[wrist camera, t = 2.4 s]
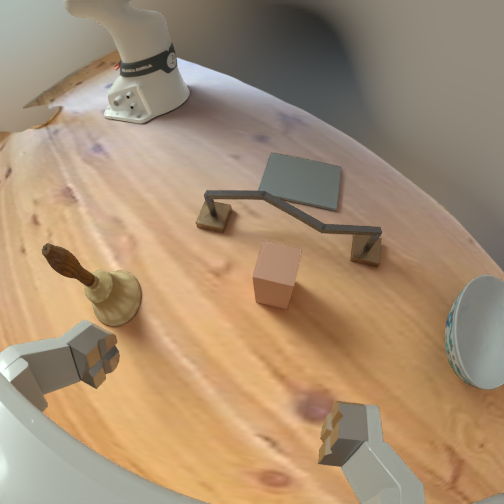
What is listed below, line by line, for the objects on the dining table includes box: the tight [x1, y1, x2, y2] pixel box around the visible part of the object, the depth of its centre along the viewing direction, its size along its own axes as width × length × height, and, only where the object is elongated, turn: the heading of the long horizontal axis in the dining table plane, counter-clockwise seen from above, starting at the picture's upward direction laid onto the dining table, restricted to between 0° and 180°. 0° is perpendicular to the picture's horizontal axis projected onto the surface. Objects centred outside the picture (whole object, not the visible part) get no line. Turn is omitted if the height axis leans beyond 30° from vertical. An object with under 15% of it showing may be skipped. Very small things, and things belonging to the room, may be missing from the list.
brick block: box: [253, 240, 302, 310], centre depth 31 cm, size 4×4×9 cm
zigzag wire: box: [196, 190, 382, 267], centre depth 36 cm, size 26×4×6 cm, turn 74°
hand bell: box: [42, 243, 141, 326], centre depth 28 cm, size 8×8×16 cm
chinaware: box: [445, 275, 504, 390], centre depth 26 cm, size 15×15×8 cm
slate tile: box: [258, 153, 341, 211], centre depth 42 cm, size 12×9×1 cm
